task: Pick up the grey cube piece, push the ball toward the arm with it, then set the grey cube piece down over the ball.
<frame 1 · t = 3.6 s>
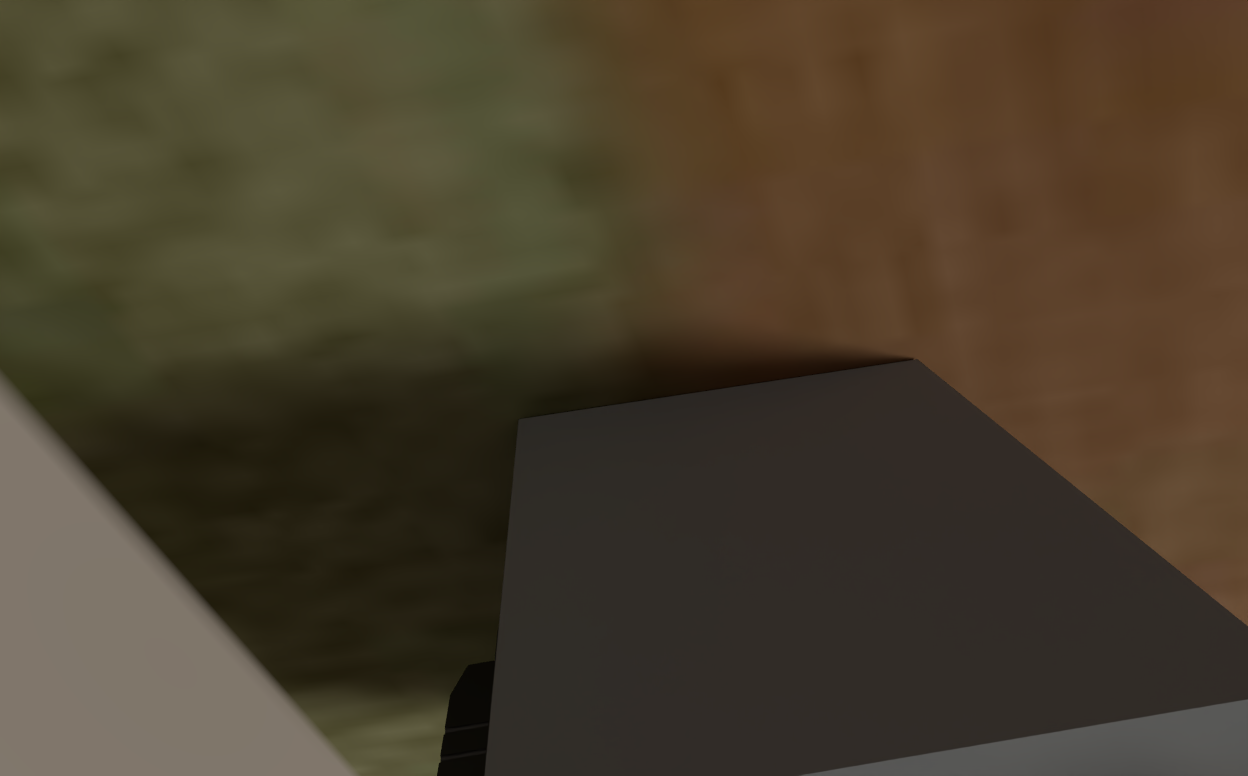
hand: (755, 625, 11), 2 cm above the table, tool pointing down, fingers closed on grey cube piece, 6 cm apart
grey cube piece: (730, 549, 13), on the table, touching gripper
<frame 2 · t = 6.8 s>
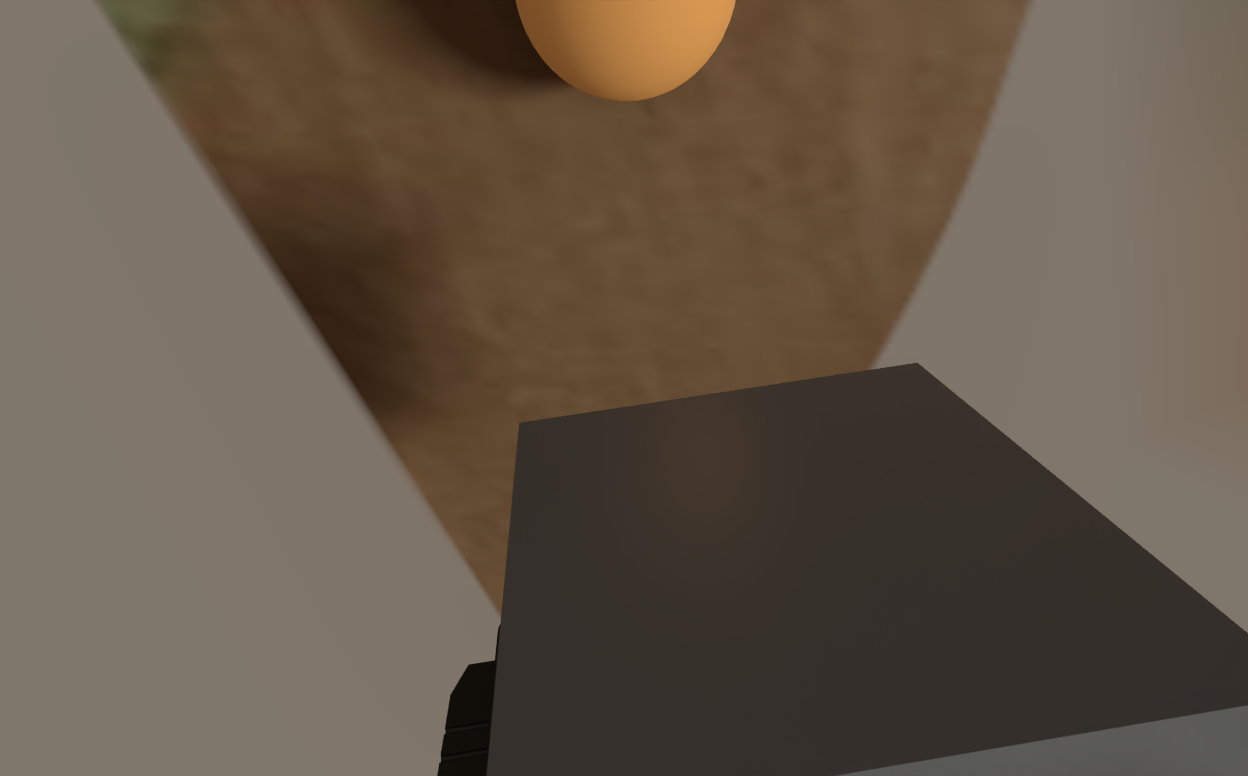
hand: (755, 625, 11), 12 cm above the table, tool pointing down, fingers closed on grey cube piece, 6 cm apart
grey cube piece: (730, 552, 13), point 10 cm above the table, touching gripper
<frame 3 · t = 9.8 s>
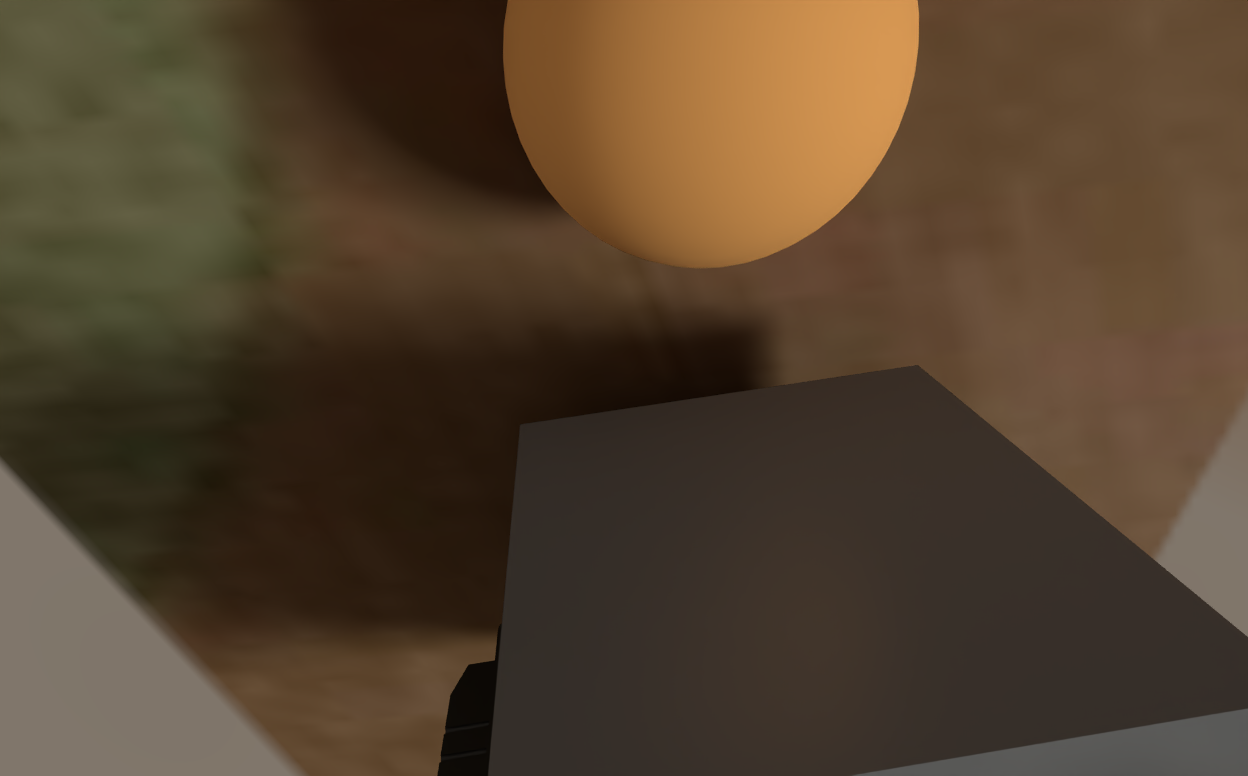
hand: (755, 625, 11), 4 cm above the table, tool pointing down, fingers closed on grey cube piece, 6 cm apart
grey cube piece: (731, 553, 13), point 2 cm above the table, touching gripper
ball: (703, 67, 9), on the table
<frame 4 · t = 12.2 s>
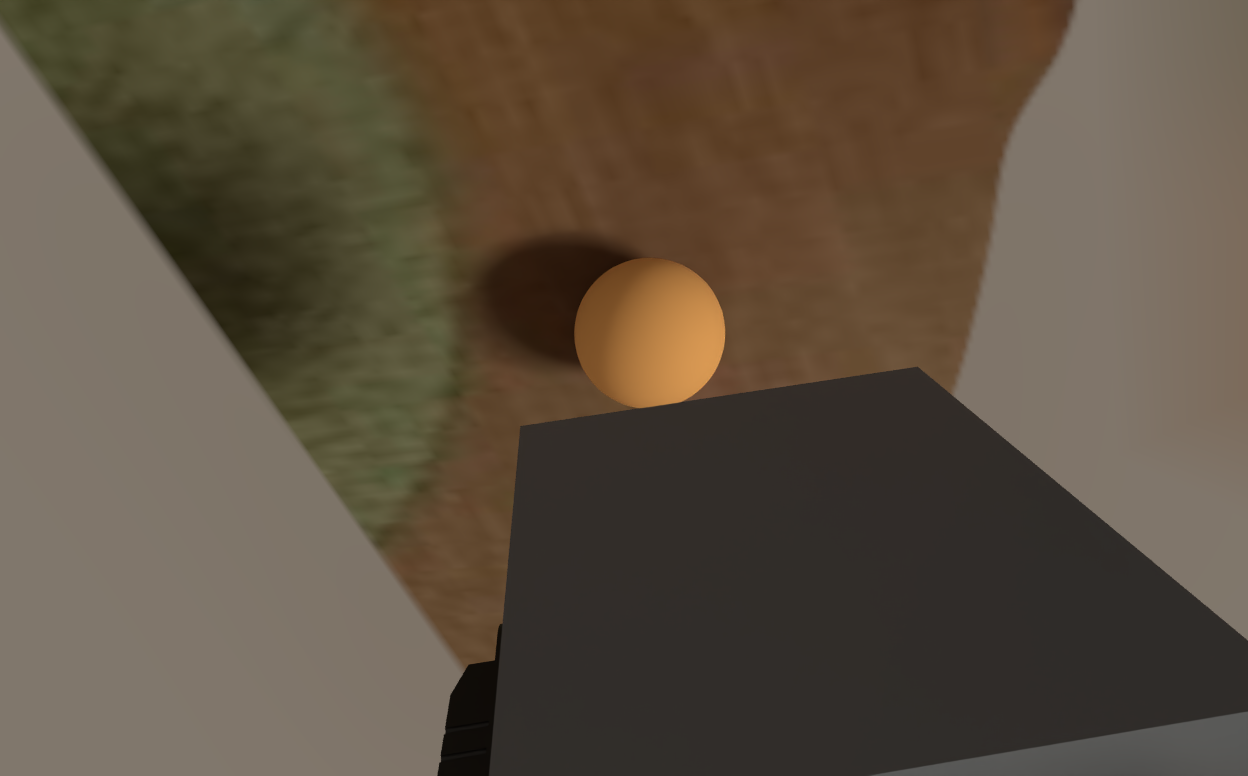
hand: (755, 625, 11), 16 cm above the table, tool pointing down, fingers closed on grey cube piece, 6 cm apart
grey cube piece: (731, 555, 13), point 14 cm above the table, touching gripper
ball: (649, 333, 23), on the table
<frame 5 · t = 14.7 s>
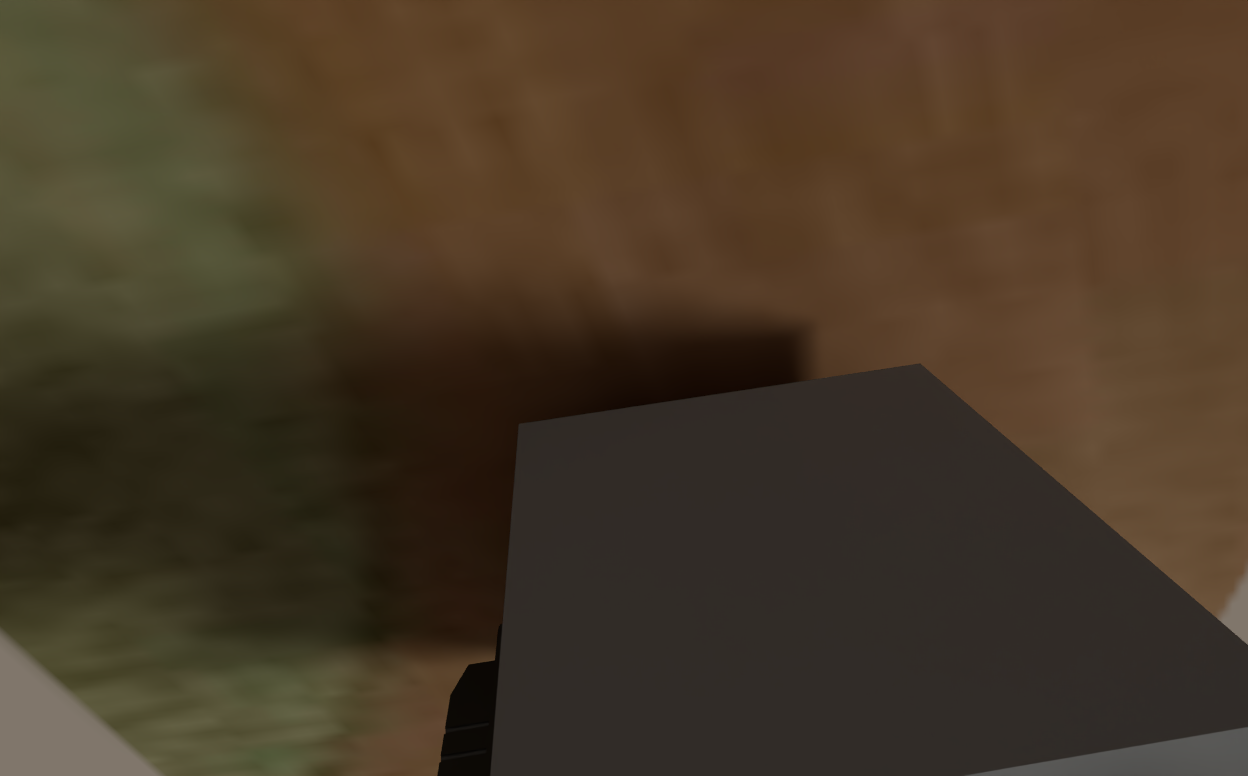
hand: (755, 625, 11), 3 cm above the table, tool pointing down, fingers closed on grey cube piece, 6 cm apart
grey cube piece: (730, 551, 13), point 1 cm above the table, touching gripper
when the fingers open (2 cm above the table, at t = 15.5 s): grey cube piece stays where it is, on the table.
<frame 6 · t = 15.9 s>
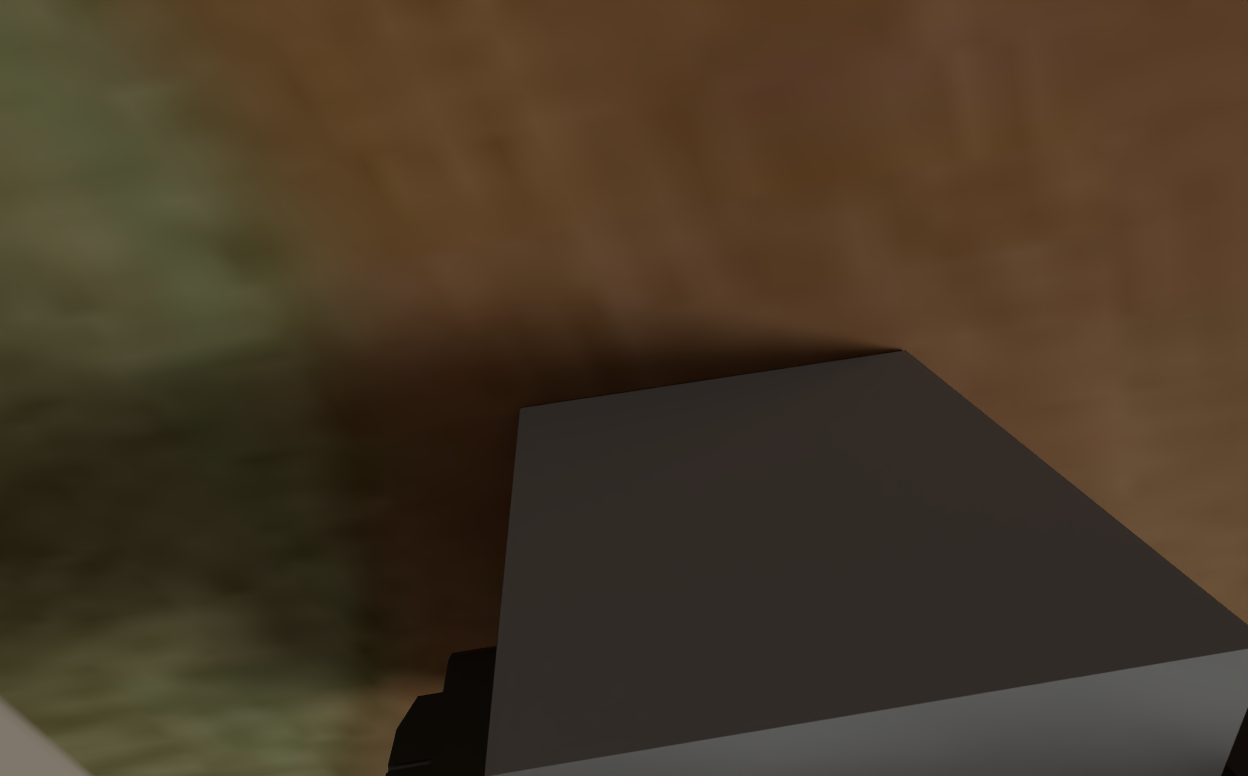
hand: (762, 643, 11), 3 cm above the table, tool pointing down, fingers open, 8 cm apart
grey cube piece: (725, 536, 13), on the table
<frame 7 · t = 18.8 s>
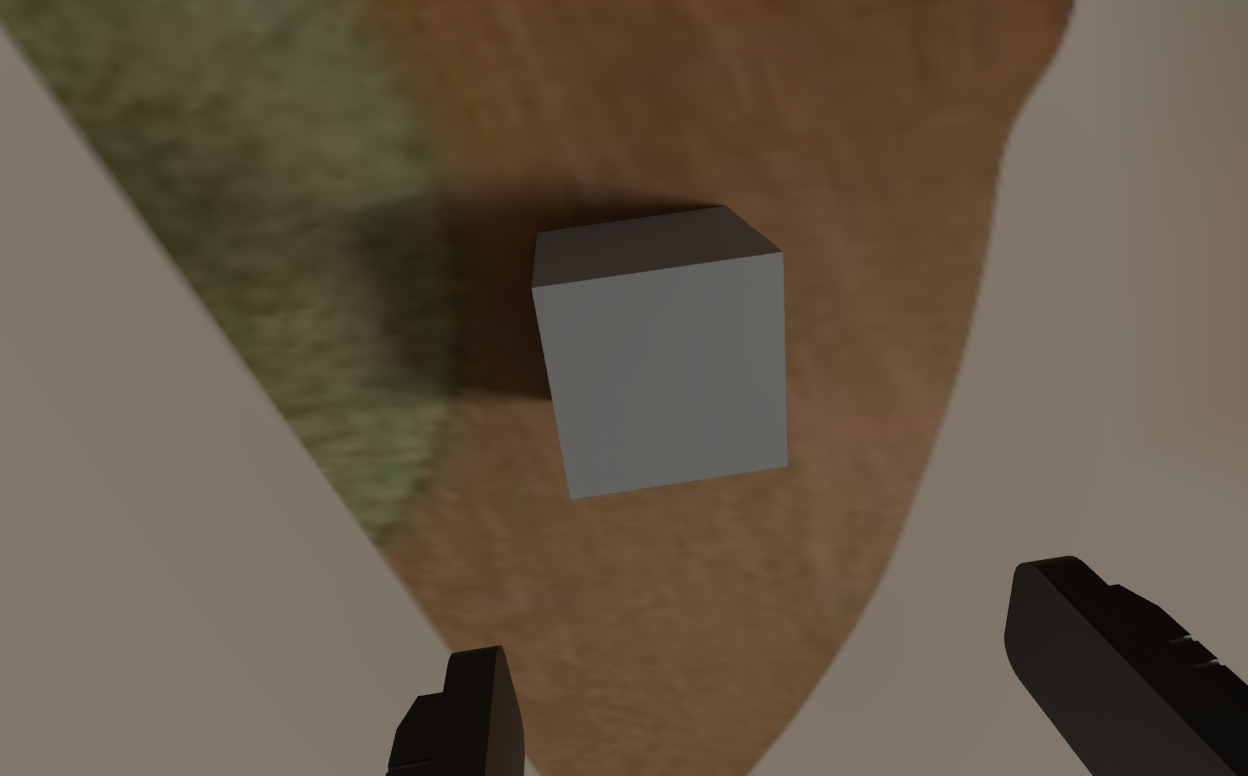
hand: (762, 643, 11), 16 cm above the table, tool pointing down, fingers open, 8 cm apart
grey cube piece: (642, 309, 25), on the table
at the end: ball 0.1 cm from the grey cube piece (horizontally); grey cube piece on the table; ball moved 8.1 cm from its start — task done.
